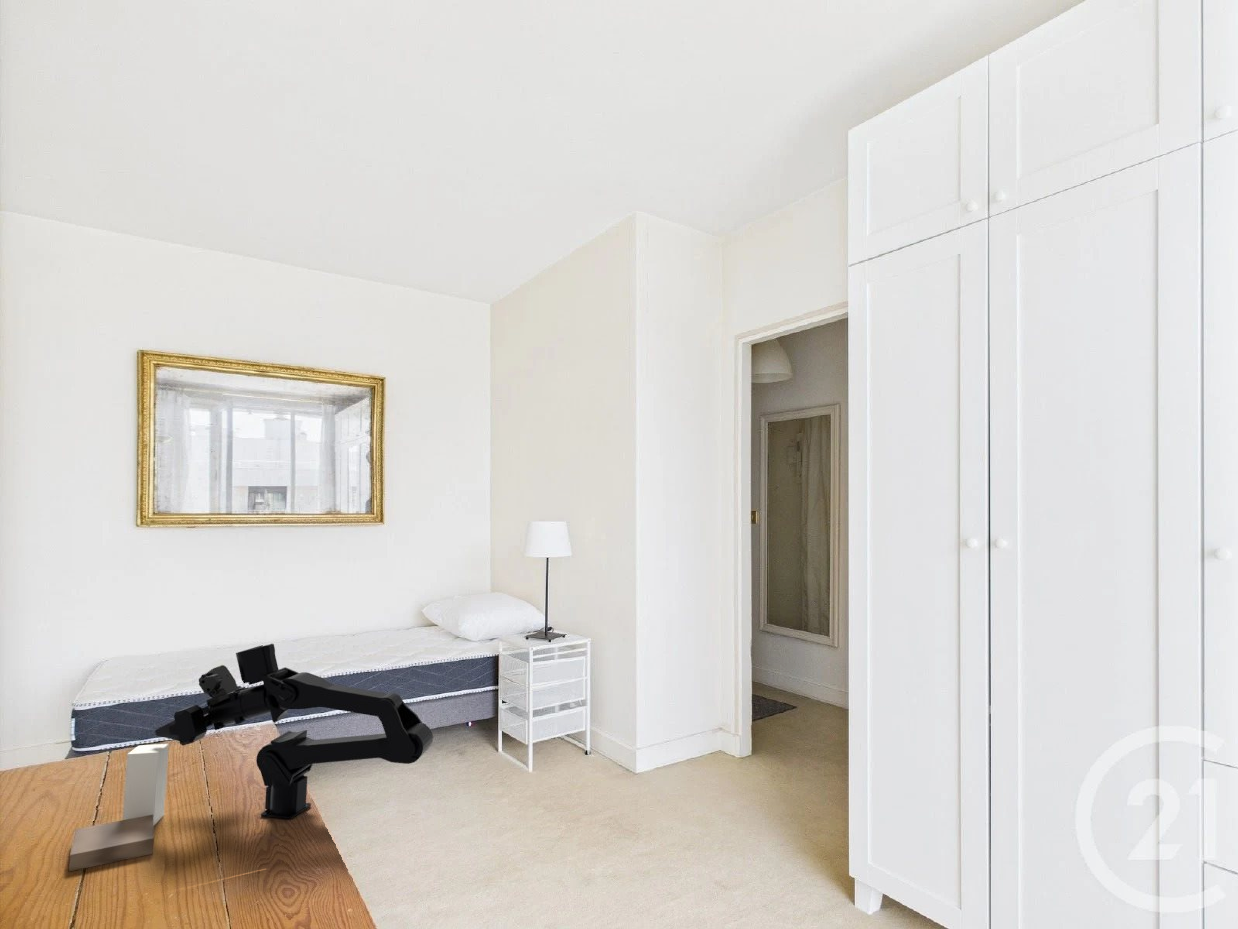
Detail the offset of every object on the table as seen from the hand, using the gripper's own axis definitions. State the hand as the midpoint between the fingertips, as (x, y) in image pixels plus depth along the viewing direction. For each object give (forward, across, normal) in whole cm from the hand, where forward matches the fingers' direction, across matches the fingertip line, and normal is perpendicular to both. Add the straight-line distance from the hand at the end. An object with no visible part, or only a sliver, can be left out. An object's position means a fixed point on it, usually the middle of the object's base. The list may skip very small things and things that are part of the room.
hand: (172, 725), depth 135 cm
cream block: (+4, +7, +15) cm, 17 cm away
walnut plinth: (+2, +17, +15) cm, 23 cm away
